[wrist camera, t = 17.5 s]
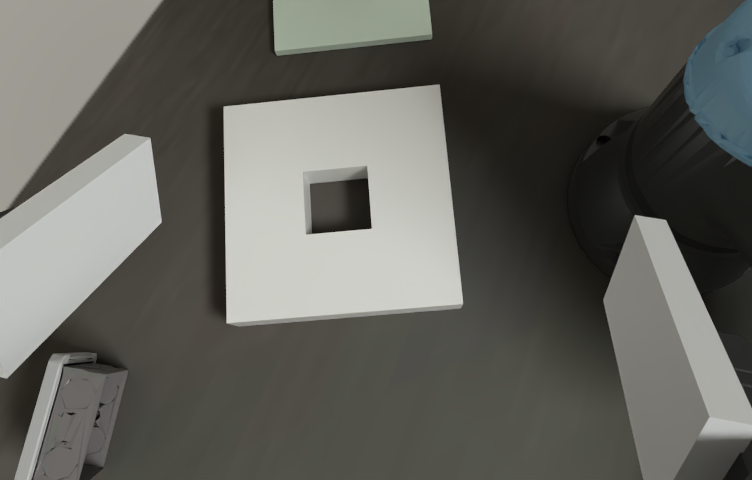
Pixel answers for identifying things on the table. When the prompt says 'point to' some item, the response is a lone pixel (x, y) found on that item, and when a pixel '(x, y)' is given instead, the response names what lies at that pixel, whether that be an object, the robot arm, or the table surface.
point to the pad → (347, 24)
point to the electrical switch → (72, 419)
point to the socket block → (346, 248)
